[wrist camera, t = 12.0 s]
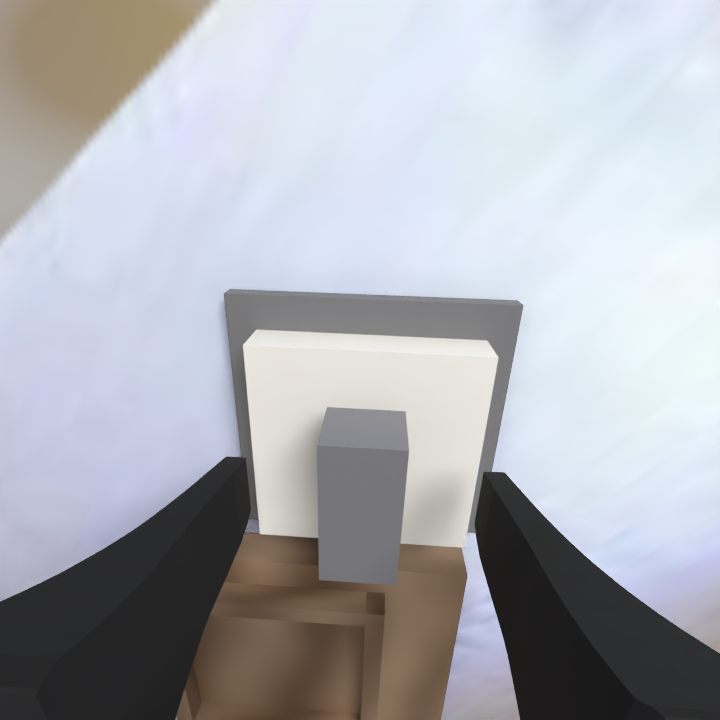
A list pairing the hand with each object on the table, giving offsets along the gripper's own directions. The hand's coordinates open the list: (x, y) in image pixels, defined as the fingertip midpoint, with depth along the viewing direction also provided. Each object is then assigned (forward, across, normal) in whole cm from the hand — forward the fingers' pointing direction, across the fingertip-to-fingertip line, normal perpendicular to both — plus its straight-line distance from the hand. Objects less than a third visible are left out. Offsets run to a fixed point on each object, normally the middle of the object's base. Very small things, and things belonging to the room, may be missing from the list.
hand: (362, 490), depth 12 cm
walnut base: (+4, +2, +18) cm, 19 cm away
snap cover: (+3, 0, 0) cm, 4 cm away
